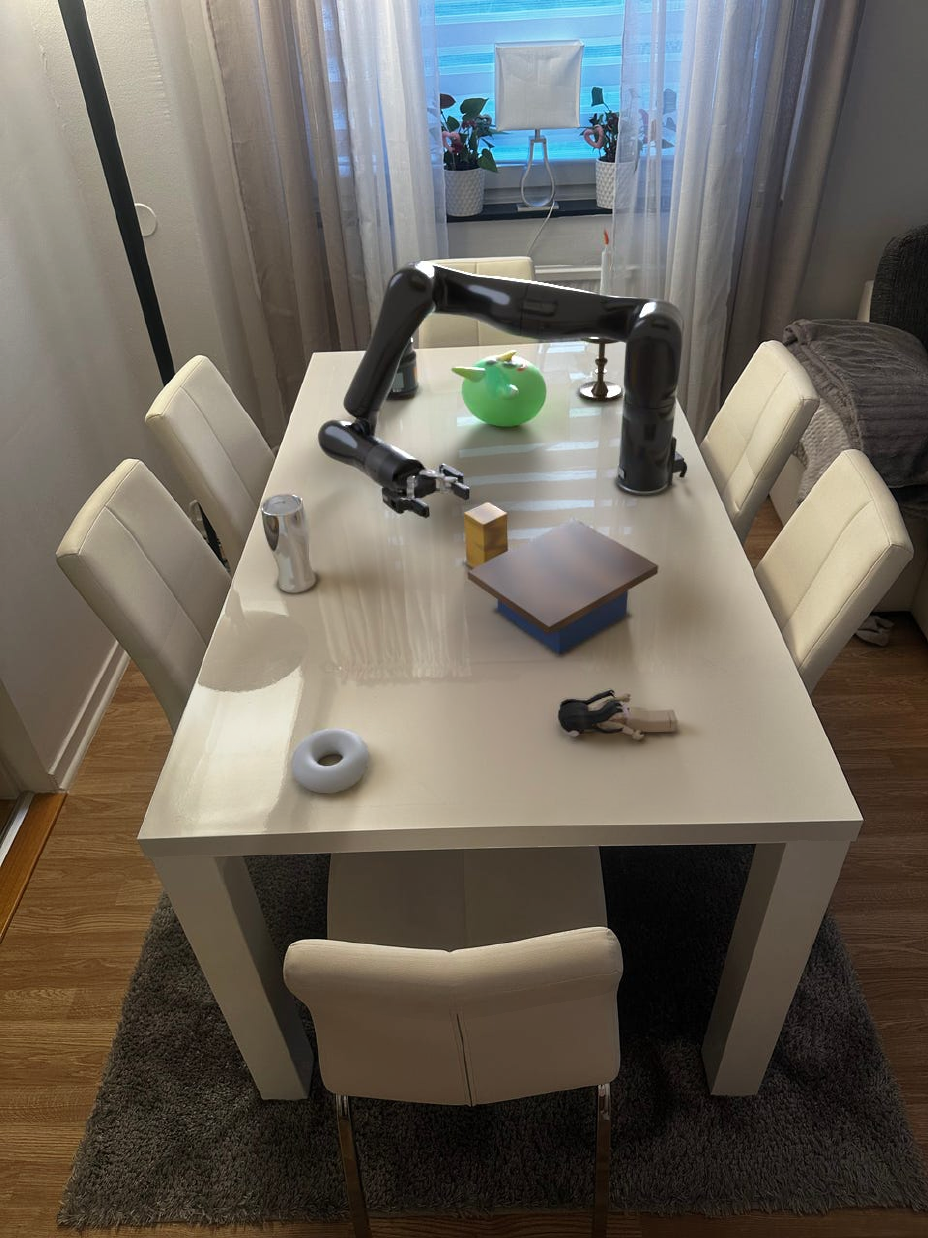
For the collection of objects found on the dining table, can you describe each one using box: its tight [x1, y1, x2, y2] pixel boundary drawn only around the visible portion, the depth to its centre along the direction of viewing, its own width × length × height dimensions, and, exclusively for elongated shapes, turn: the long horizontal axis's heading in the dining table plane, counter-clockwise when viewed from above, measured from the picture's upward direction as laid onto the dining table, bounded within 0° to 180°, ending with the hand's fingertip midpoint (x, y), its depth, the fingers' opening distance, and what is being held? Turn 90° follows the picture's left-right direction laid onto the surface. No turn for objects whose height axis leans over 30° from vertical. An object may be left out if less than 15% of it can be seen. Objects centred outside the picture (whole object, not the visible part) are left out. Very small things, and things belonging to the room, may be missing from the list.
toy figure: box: [557, 687, 678, 740], centre depth 116 cm, size 7×6×15 cm
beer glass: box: [260, 493, 316, 594], centre depth 143 cm, size 7×7×15 cm
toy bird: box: [450, 350, 547, 427], centre depth 186 cm, size 18×17×15 cm
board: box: [467, 518, 659, 635], centre depth 133 cm, size 22×18×2 cm
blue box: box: [497, 590, 629, 655], centre depth 136 cm, size 14×14×7 cm
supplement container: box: [386, 337, 420, 400], centre depth 202 cm, size 10×10×12 cm
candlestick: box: [579, 228, 621, 403], centre depth 189 cm, size 11×11×35 cm
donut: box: [290, 728, 370, 794], centre depth 114 cm, size 10×3×10 cm
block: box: [463, 501, 509, 569], centre depth 146 cm, size 5×5×10 cm
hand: (448, 504), depth 151 cm, fingers open, 8 cm apart
